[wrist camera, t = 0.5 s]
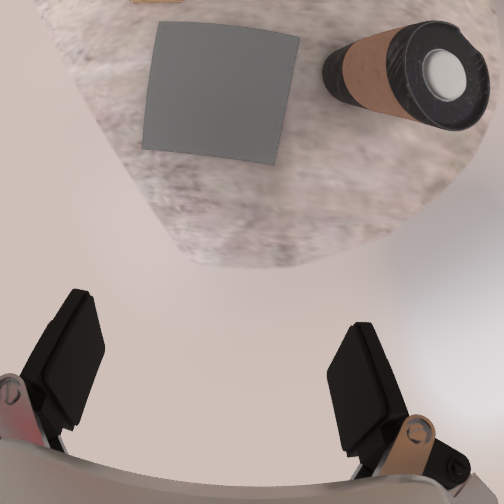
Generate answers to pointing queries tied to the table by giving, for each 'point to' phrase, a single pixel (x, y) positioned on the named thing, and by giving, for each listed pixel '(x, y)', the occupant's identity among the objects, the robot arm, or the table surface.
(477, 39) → the table surface
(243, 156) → the charcoal mat
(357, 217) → the table surface
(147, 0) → the oak block
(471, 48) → the travel mug
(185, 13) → the table surface
